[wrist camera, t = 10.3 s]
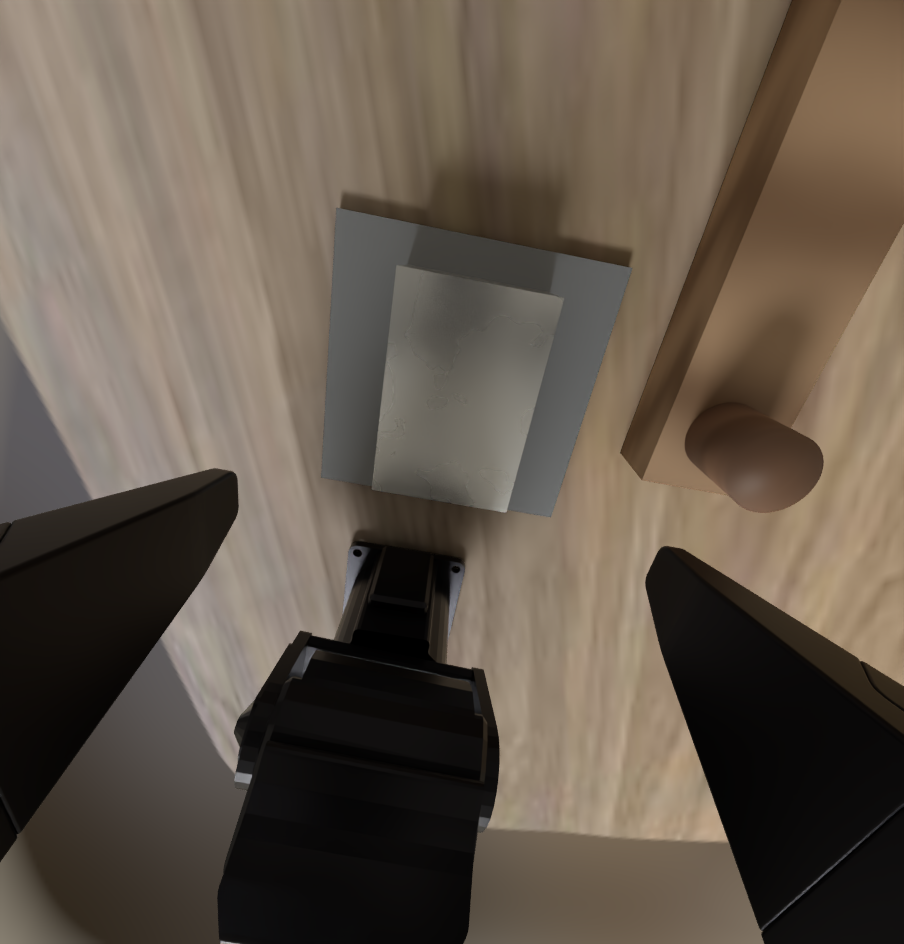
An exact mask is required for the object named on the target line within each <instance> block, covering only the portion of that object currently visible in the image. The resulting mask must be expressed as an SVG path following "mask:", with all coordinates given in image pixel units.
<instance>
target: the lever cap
mask: <svg viewBox="0 0 904 944" xmlns="http://www.w3.org/2000/svg"><path fill="white" fill-rule="evenodd" d="M563 301H564V298H563V297H561V296H558V295H556V294H553V293H551V292H546V291H541V290H536V289H531V288H526V287H521V286H515V285H510V284H505V283H500V282H495V281H490V280H485V279H480V278H475V277H470V276H465V275H459V274H454V273H449V272H444V271H439V270H434V269H429V268H424V267H419V266H414V265H408V264H404V265H396V274H395V283H394V292H393V301H392V310H391V319H390V328H389V337H388V346H387V355H386V364H385V373H384V382H383V391H382V400H381V409H380V418H379V427H378V436H377V445H376V454H375V463H374V472H373V481H372V490H376V491H382V492H387V493H393V494H399V495H405V496H411V497H417V498H422V499H428V500H434V501H440V502H446V503H452V504H458V505H463V506H469V507H475V508H481V509H487V510H493V511H499V512H504V513H506V512H507V508H508V504H509V501H510V497H511V493H512V490H513V486H514V482H515V479H516V475H517V471H518V468H519V464H520V460H521V456H522V453H523V449H524V445H525V442H526V438H527V434H528V431H529V427H530V423H531V419H532V416H533V412H534V408H535V405H536V401H537V397H538V394H539V390H540V386H541V383H542V379H543V375H544V371H545V368H546V364H547V360H548V357H549V353H550V349H551V346H552V342H553V338H554V335H555V331H556V327H557V323H558V320H559V316H560V312H561V309H562V305H563Z"/></svg>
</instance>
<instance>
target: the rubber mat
mask: <svg viewBox="0 0 904 944" xmlns="http://www.w3.org/2000/svg"><path fill="white" fill-rule="evenodd" d="M404 264H408V265H414V266H419V267H424V268H429V269H434V270H439V271H444V272H449V273H454V274H459V275H465V276H470V277H475V278H480V279H485V280H490V281H495V282H500V283H505V284H510V285H515V286H521V287H526V288H531V289H536V290H541V291H546V292H551V293H553V294H556V295H558V296H561V297H563V298H564V301H563V305H562V309H561V312H560V316H559V320H558V323H557V327H556V331H555V335H554V338H553V342H552V346H551V349H550V353H549V357H548V360H547V364H546V368H545V371H544V375H543V379H542V383H541V386H540V390H539V394H538V397H537V401H536V405H535V408H534V412H533V416H532V419H531V423H530V427H529V431H528V434H527V438H526V442H525V445H524V449H523V453H522V456H521V460H520V464H519V468H518V471H517V475H516V479H515V482H514V486H513V490H512V493H511V497H510V501H509V504H508V508H507V510H511V511H517V512H523V513H528V514H534V515H540V516H546V517H551V515H552V512H553V509H554V506H555V503H556V500H557V497H558V494H559V491H560V488H561V485H562V482H563V479H564V476H565V473H566V469H567V466H568V463H569V460H570V457H571V454H572V451H573V448H574V445H575V442H576V439H577V436H578V433H579V430H580V427H581V424H582V421H583V418H584V415H585V411H586V408H587V405H588V402H589V399H590V396H591V393H592V390H593V387H594V384H595V381H596V378H597V375H598V372H599V369H600V366H601V363H602V360H603V356H604V353H605V350H606V347H607V344H608V341H609V338H610V335H611V332H612V329H613V326H614V323H615V320H616V317H617V314H618V311H619V308H620V305H621V302H622V298H623V295H624V292H625V289H626V286H627V283H628V280H629V277H630V274H631V271H632V268H630V267H625V266H620V265H615V264H610V263H606V262H601V261H596V260H591V259H586V258H581V257H576V256H571V255H566V254H561V253H556V252H552V251H547V250H542V249H537V248H532V247H527V246H522V245H517V244H512V243H507V242H503V241H498V240H493V239H488V238H483V237H478V236H473V235H468V234H463V233H458V232H454V231H449V230H444V229H439V228H434V227H429V226H424V225H419V224H414V223H409V222H405V221H400V220H395V219H390V218H385V217H380V216H375V215H370V214H365V213H360V212H356V211H351V210H346V209H341V208H336V223H335V241H334V259H333V277H332V294H331V312H330V330H329V348H328V365H327V383H326V401H325V419H324V436H323V454H322V472H321V478H327V479H333V480H338V481H344V482H350V483H356V484H362V485H367V486H372V481H373V472H374V463H375V454H376V445H377V436H378V427H379V418H380V409H381V400H382V391H383V382H384V373H385V364H386V355H387V346H388V337H389V328H390V319H391V310H392V301H393V292H394V283H395V274H396V265H404Z"/></svg>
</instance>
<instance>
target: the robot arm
mask: <svg viewBox="0 0 904 944" xmlns="http://www.w3.org/2000/svg"><path fill="white" fill-rule="evenodd" d="M238 508H239V504H238V480H237V476H236V474H235V473H234V472H232V471H228V470H222V469H216V468H214V469H209V470H205V471H202V472H198V473H194V474H190V475H186V476H182V477H179V478H175V479H171V480H167V481H163V482H159V483H156V484H152V485H148V486H144V487H140V488H137V489H133V490H129V491H125V492H121V493H117V494H114V495H110V496H106V497H102V498H98V499H94V500H91V501H87V502H84V503H80V504H75V505H72V506H68V507H64V508H60V509H56V510H52V511H48V512H45V513H41V514H37V515H33V516H29V517H26V518H22V519H18V520H15V521H13V522H12V524H11V523H9V522H6V523H2V524H0V862H1V860H2V859H3V858H4V856H5V855H6V853H7V852H8V851H9V849H10V848H11V846H12V845H13V844H14V842H15V841H16V839H17V837H18V836H17V834H19V833H21V831H22V830H23V829H24V828H25V826H26V825H27V823H28V822H29V821H30V819H31V818H32V816H33V815H34V814H35V812H36V811H37V809H38V808H39V806H40V805H41V804H42V802H43V801H44V800H45V798H46V796H47V795H48V794H49V793H50V791H51V790H52V788H53V787H54V785H55V784H56V783H57V781H58V780H59V778H60V777H61V776H62V774H63V773H64V771H65V770H66V769H67V767H68V766H69V765H70V763H71V762H72V760H73V759H74V758H75V756H76V755H77V753H78V752H79V750H80V749H81V748H82V746H83V745H84V744H85V742H86V741H87V739H88V738H89V737H90V735H91V734H92V732H93V731H94V729H95V728H96V727H97V725H98V724H99V723H100V721H101V720H102V718H103V717H104V715H105V714H106V713H107V711H108V710H109V708H110V707H111V706H112V704H113V703H114V701H115V700H116V699H117V697H118V696H119V695H120V693H121V692H122V690H123V689H124V688H125V686H126V685H127V683H128V682H129V681H130V679H131V678H132V676H133V675H134V673H135V672H136V671H137V669H138V668H139V667H140V665H141V664H142V662H143V661H144V660H145V658H146V657H147V655H148V654H149V652H150V651H151V650H152V648H153V647H154V646H155V644H156V643H157V641H158V640H159V639H160V637H161V636H162V634H163V633H164V632H165V630H166V629H167V627H168V626H169V625H170V623H171V622H172V620H173V619H174V618H175V616H176V615H177V613H178V612H179V611H180V609H181V608H182V606H183V605H184V604H185V602H186V601H187V599H188V598H189V597H190V595H191V594H192V592H193V591H194V590H195V588H196V587H197V585H198V584H199V582H200V581H201V579H202V578H203V576H204V575H205V573H206V571H207V570H208V568H209V566H210V564H211V562H212V561H213V559H214V557H215V555H216V553H217V552H218V550H219V548H220V546H221V544H222V542H223V541H224V539H225V537H226V535H227V533H228V532H229V530H230V528H231V526H232V524H233V522H234V521H235V519H236V516H237V513H238ZM356 549H358V550H361V553H358V552H356V551H355V550H356ZM453 566H458V567H460V568H458V569H455V568H453ZM464 572H465V563H464V561H463V560H461V559H459V558H455V557H449V556H443V555H437V554H431V553H428V552H422V551H416V550H410V549H404V548H398V547H392V546H383V545H377V544H371V543H365V542H354V543H353V544H352V545H351V547H350V549H349V552H348V563H347V574H346V584H345V595H344V605H343V615H342V618H341V621H340V624H339V627H338V630H337V632H336V635H335V638H334V640H331V639H326V638H321V637H317V636H312V633H309V632H304V631H300V632H299V633H298V635H297V637H296V638H295V640H294V642H293V643H292V644H289V645H288V647H287V648H286V650H285V651H284V653H283V655H282V656H281V658H280V660H279V661H278V663H277V664H276V666H275V668H274V669H273V671H272V672H271V674H270V676H269V677H268V679H267V681H266V682H265V684H264V685H263V687H262V689H261V690H260V692H259V693H258V695H257V697H256V699H255V700H254V701H253V703H252V704H251V705H250V706H249V707H248V708H247V709H246V710H245V711H244V712H243V713H242V714H241V715H240V717H239V719H238V721H237V723H236V726H235V730H234V734H235V737H236V739H237V742H238V744H239V746H240V749H239V754H238V764H237V769H236V774H235V781H234V782H235V788H236V789H241V790H246V791H247V794H246V797H245V800H244V803H243V807H242V810H241V813H240V816H239V819H238V822H237V825H236V829H235V832H234V835H233V838H232V841H231V844H230V848H229V851H228V854H227V857H226V860H225V865H224V875H223V877H222V880H221V883H220V885H219V889H218V898H217V899H218V925H219V939H220V942H221V944H463V943H464V941H465V939H466V936H467V933H468V927H469V913H470V899H471V885H472V871H473V862H474V854H475V847H476V840H477V833H481V832H483V831H484V830H485V829H486V828H487V825H488V823H489V821H490V818H491V815H492V811H493V808H494V803H495V798H496V792H497V785H498V776H499V736H498V730H497V725H496V721H495V716H494V712H493V708H492V704H491V699H490V695H489V691H488V686H487V682H486V678H485V674H484V670H483V669H478V668H473V667H472V669H467V668H463V667H458V666H453V665H448V664H446V662H447V643H448V638H449V634H450V630H451V625H452V621H453V617H454V613H455V609H456V605H457V601H458V597H459V592H460V588H461V584H462V580H463V576H464ZM645 586H646V591H647V595H648V599H649V603H650V608H651V612H652V616H653V620H654V624H655V629H656V633H657V637H658V641H659V645H660V648H661V652H662V655H663V658H664V661H665V664H666V667H667V670H668V672H669V675H670V678H671V681H672V684H673V687H674V689H675V692H676V695H677V698H678V701H679V703H680V706H681V709H682V712H683V715H684V718H685V720H686V723H687V726H688V729H689V732H690V734H691V737H692V740H693V743H694V746H695V749H696V751H697V754H698V757H699V760H700V763H701V765H702V768H703V771H704V774H705V777H706V780H707V782H708V785H709V788H710V791H711V794H712V796H713V799H714V802H715V805H716V808H717V810H718V813H719V816H720V819H721V822H722V825H723V827H724V830H725V833H726V836H727V839H728V841H729V844H730V847H731V850H732V853H733V855H734V858H735V861H736V864H737V867H738V870H739V872H740V875H741V878H742V881H743V884H744V886H745V889H746V892H747V894H748V898H749V901H750V903H751V906H752V909H753V912H754V915H755V917H756V920H757V923H758V926H759V928H760V930H761V931H763V932H762V933H761V935H762V938H763V941H764V944H904V686H902V685H901V684H899V683H898V682H896V681H894V680H893V679H891V678H889V677H888V676H886V675H884V674H883V673H881V672H880V671H878V670H876V669H875V668H873V667H872V666H870V665H868V664H867V663H865V662H863V661H859V659H858V658H857V657H855V656H854V655H852V654H851V653H849V652H847V651H846V650H844V649H843V648H841V647H839V646H838V645H836V644H835V643H833V642H831V641H830V640H828V639H827V638H825V637H823V636H822V635H820V634H819V633H817V632H815V631H814V630H812V629H811V628H809V627H807V626H806V625H804V624H802V623H801V622H799V621H798V620H796V619H794V618H793V617H791V616H790V615H788V614H786V613H785V612H783V611H782V610H780V609H778V608H777V607H775V606H774V605H772V604H770V603H769V602H767V601H766V600H764V599H762V598H761V597H759V596H758V595H756V594H754V593H753V592H751V591H750V590H748V589H746V588H745V587H743V586H742V585H740V584H738V583H737V582H735V581H734V580H732V579H730V578H729V577H727V576H725V575H724V574H722V573H721V572H719V571H717V570H716V569H714V568H713V567H711V566H709V565H708V564H706V563H705V562H703V561H701V560H700V559H698V558H697V557H695V556H693V555H692V554H690V553H689V552H687V551H685V550H683V549H681V548H675V547H669V546H664V547H662V548H660V549H659V551H658V553H657V555H656V557H655V559H654V561H653V563H652V565H651V567H650V569H649V572H648V574H647V576H646V581H645Z"/></svg>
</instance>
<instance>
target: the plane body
mask: <svg viewBox="0 0 904 944" xmlns="http://www.w3.org/2000/svg"><path fill="white" fill-rule="evenodd" d="M903 224H904V0H792V3H791V5H790V8H789V11H788V13H787V16H786V18H785V21H784V24H783V26H782V29H781V32H780V34H779V37H778V40H777V42H776V45H775V47H774V50H773V53H772V55H771V58H770V61H769V63H768V66H767V68H766V71H765V74H764V76H763V79H762V82H761V84H760V87H759V89H758V92H757V95H756V97H755V100H754V103H753V105H752V108H751V111H750V113H749V116H748V118H747V121H746V124H745V126H744V129H743V132H742V134H741V137H740V139H739V142H738V145H737V147H736V150H735V153H734V155H733V158H732V161H731V163H730V166H729V168H728V171H727V174H726V176H725V179H724V182H723V184H722V187H721V189H720V192H719V195H718V197H717V200H716V203H715V205H714V208H713V210H712V213H711V216H710V218H709V221H708V224H707V226H706V229H705V232H704V234H703V237H702V239H701V242H700V245H699V247H698V250H697V253H696V255H695V258H694V260H693V263H692V266H691V268H690V271H689V274H688V276H687V279H686V282H685V284H684V287H683V289H682V292H681V295H680V297H679V300H678V303H677V305H676V308H675V310H674V313H673V316H672V318H671V321H670V324H669V326H668V329H667V332H666V334H665V337H664V339H663V342H662V345H661V347H660V350H659V353H658V355H657V358H656V360H655V363H654V366H653V368H652V371H651V374H650V376H649V379H648V381H647V384H646V387H645V389H644V392H643V395H642V397H641V400H640V403H639V405H638V408H637V410H636V413H635V416H634V418H633V421H632V424H631V426H630V429H629V431H628V434H627V437H626V439H625V442H624V445H623V447H622V450H621V454H622V455H623V457H624V458H625V459H626V461H627V462H628V463H629V464H630V466H631V467H632V468H633V469H634V471H635V472H636V473H637V475H638V476H639V477H640V478H641V480H644V481H649V482H655V483H661V484H666V485H672V486H677V487H683V488H688V489H694V490H700V491H705V492H711V493H716V494H722V495H727V496H729V497H731V498H732V499H733V500H734V501H735V502H736V503H737V504H738V505H740V506H741V507H742V508H744V509H746V510H749V511H752V512H758V513H768V512H775V511H779V510H782V509H785V508H787V507H790V506H791V505H793V504H795V503H797V502H798V501H800V500H801V499H803V498H804V497H805V496H806V495H807V494H808V493H809V492H810V491H811V490H812V489H813V488H814V486H815V485H816V483H817V482H818V480H819V478H820V476H821V473H822V470H823V455H822V452H821V450H820V448H819V446H818V445H817V444H816V443H815V442H814V441H813V440H811V439H810V438H808V437H806V436H804V435H802V434H800V433H798V432H797V431H795V430H793V429H791V427H792V425H793V423H794V422H795V420H796V418H797V416H798V414H799V412H800V411H801V409H802V407H803V405H804V403H805V402H806V400H807V398H808V396H809V394H810V392H811V391H812V389H813V387H814V385H815V383H816V382H817V380H818V378H819V376H820V374H821V372H822V371H823V369H824V367H825V365H826V363H827V362H828V360H829V358H830V356H831V354H832V353H833V351H834V349H835V347H836V345H837V343H838V342H839V340H840V338H841V336H842V334H843V333H844V331H845V329H846V327H847V325H848V323H849V322H850V320H851V318H852V316H853V314H854V313H855V311H856V309H857V307H858V305H859V303H860V302H861V300H862V298H863V296H864V294H865V293H866V291H867V289H868V287H869V285H870V283H871V282H872V280H873V278H874V276H875V274H876V273H877V271H878V269H879V267H880V265H881V264H882V262H883V260H884V258H885V256H886V254H887V253H888V251H889V249H890V247H891V245H892V244H893V242H894V240H895V238H896V236H897V234H898V233H899V231H900V229H901V227H902V225H903Z"/></svg>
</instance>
